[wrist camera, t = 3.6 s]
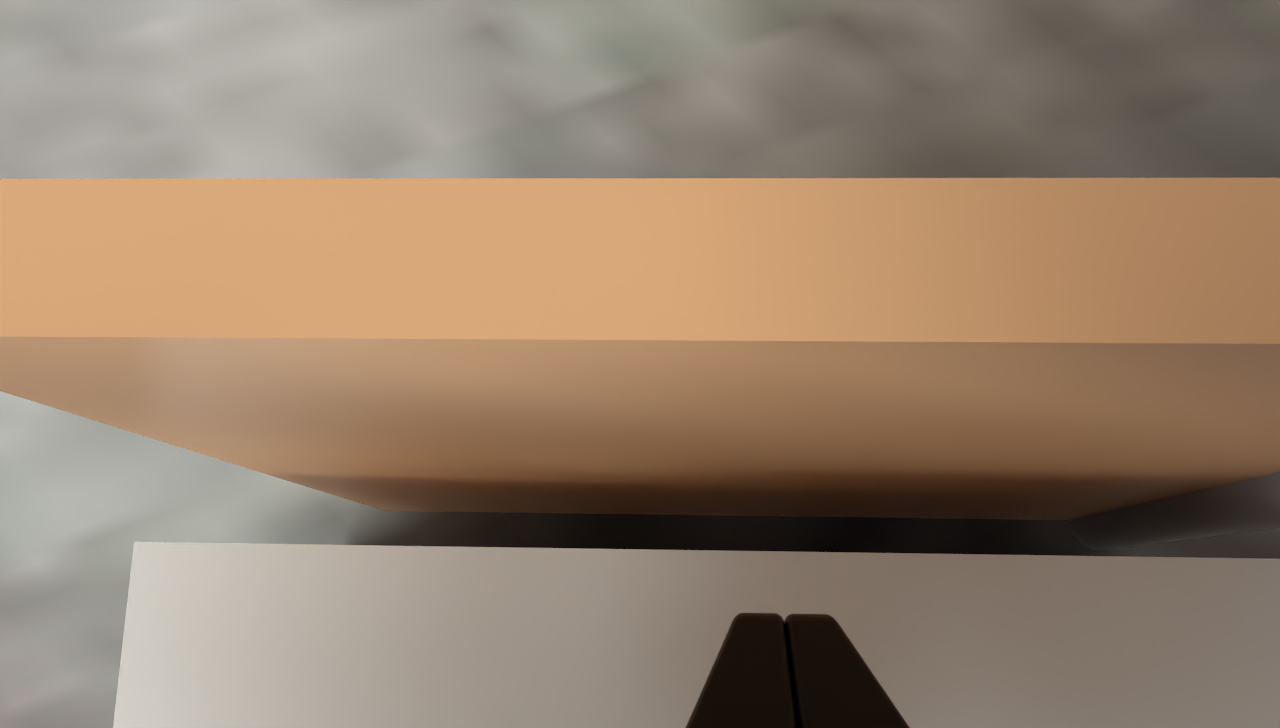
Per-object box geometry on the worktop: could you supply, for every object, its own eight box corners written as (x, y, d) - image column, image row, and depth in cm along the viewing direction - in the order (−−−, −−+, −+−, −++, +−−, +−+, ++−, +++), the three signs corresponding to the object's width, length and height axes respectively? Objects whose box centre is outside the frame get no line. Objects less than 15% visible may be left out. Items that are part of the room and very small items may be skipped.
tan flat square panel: (1132, 550, 18) (2044, 438, 6) (383, 540, 19) (-193, 416, 7) (1125, 461, 18) (1975, 175, 6) (388, 452, 19) (-150, 178, 7)
